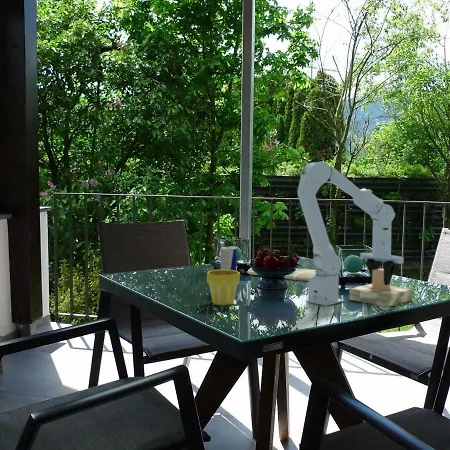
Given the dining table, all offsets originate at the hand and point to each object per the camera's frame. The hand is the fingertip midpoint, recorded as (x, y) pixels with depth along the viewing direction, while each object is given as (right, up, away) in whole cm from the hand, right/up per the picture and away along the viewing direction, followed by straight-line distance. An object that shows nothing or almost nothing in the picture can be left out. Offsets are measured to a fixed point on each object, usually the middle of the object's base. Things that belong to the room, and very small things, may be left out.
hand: (380, 283), depth 179 cm
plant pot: (-51, -6, -3) cm, 51 cm away
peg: (0, -3, 0) cm, 3 cm away
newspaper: (-27, -2, +49) cm, 56 cm away
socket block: (0, -5, 0) cm, 5 cm away
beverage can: (-49, -4, +17) cm, 52 cm away
